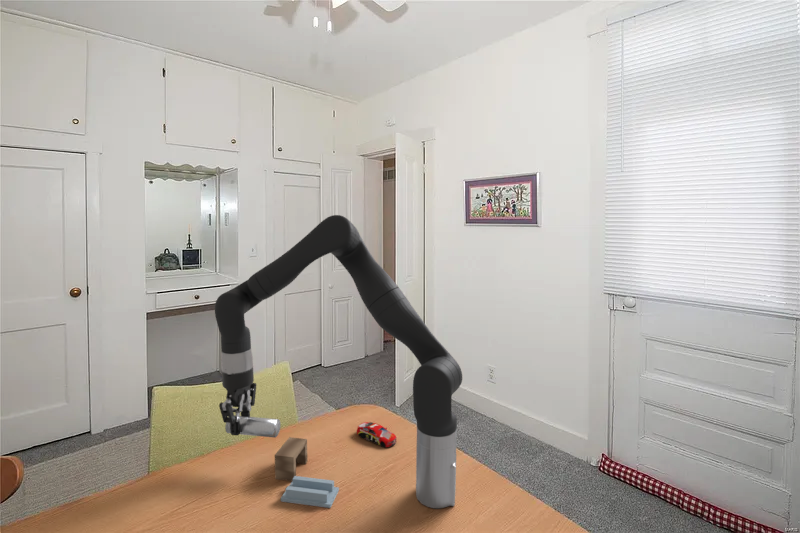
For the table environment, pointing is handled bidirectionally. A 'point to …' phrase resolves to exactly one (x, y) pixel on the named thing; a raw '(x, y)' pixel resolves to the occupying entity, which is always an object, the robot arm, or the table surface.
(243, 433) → the axle
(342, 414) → the table surface
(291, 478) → the brown bridge block
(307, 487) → the cradle
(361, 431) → the race car
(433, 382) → the robot arm
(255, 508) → the table surface
